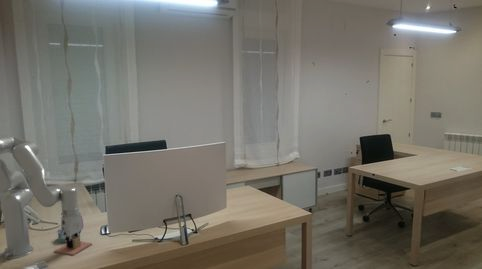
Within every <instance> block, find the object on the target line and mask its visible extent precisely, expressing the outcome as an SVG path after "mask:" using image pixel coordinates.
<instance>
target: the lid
mask: <svg viewBox="0 0 482 269" xmlns="http://www.w3.org/2000/svg"><path fill="white" fill-rule="evenodd" d="M68 238H69V237H68ZM71 240H72V242H73V248H68V247H67V241H66V243H65V244H64V245H62V246H60V247H58V248H56V249H55V250H53V253H54V252H57V253H56V254H60V253H62V254H61V255H66V254H68V255H67V256H71V255H74V256H76V255H78V254H79V253H81V252H83V251H84V249H85V250H86V249H88V248H89V246H90V247H92V246H93V242H86V241H81V236H80V237H77V236H71ZM87 247H88V248H87ZM82 250H83V251H82ZM80 251H81V252H80ZM77 253H78V254H77ZM75 254H76V255H75Z"/></svg>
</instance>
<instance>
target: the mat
mask: <svg viewBox="0 0 482 269" xmlns="http://www.w3.org/2000/svg"><path fill="white" fill-rule="evenodd" d="M89 247H91V246H89ZM89 247H87V248H86V249H88V248H89ZM86 249H84V250H86ZM84 250H82V251H80V252H79V253H81V252H83V251H84ZM53 253H55V254H58V253H57V252H54V251H53ZM79 253H77V254H75V255H70V256H71V257H72V256H73V257H74V256H76V255H78V254H79ZM59 254H61V255H63V254H62V253H59ZM65 255H67V256H69V255H68V254H65Z"/></svg>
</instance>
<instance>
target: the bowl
mask: <svg viewBox="0 0 482 269" xmlns="http://www.w3.org/2000/svg"><path fill="white" fill-rule="evenodd" d="M61 235H62V232H61V230H60V231H59V230H58V231H57V236H58V237H57V238H58V241H59V243H65V244H66V240H65V239H61ZM71 236H74V234H73V235H71ZM68 237H69V236H68ZM79 237H80V238H81V235H80V236H79Z"/></svg>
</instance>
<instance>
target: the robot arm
mask: <svg viewBox="0 0 482 269" xmlns="http://www.w3.org/2000/svg"><path fill="white" fill-rule="evenodd" d="M39 150H40V149H39V146H38V145H37V144H36V143H34V142H32V141H30V140H26V139H23V138H19V137H16V136H11V135H1V136H0V155H3V154H6V153H9V154H10V153H11V155H12V157H13V159H14V160H15V162H16V163H17V164H18V166H19V167H20V169H21V170H22V171H23V173H24V174H25V175H24V174H23V173H22V172H21V171H19V170H17V169H9V167H8V166H7V164H6V162H5V161H4V160H3V159H2V158H1V157H0V193H1V194H3V193H4V194H5V193H8V192H9V193H8V194H6V195H5V196H4V197H3V198H2V199H1V201H0V211H1V213H2V216H3V222H4V228H5V229H4V231H5V239H6V248H4V251H2V252H1V253H0V259H1V258H3V257H4V259H6V260H14V259H19V258H23V257H26V256H28V255H29V256H30V254H32V253H33V252H34V250H35V248H34V246H32V245H31V243H30V234H29V233H30V231H29V222H28V216H27V213H26V211H25V207H27V206H28V205H29V204H30V203H31V202H32V201H33V199H34V198H35V199H36V201H37V202H38V203H39V204H40V205H41V206H42V207H45V208H52V207H53V206H55V205H56V204H58V203H59V202H61V213H60V214H61V219H60V220H61V222H60V223H61V224H60V228H61V232H62V235H61V239H65V240H66V241H67V247H68V248H73V242H72V240H71V235H73V234H74V236H77V237H79V236H80V237H81V235H80V234H81V233H82V231H83V229H84V228H83V226H84V221H83V222H82V218H83V216H82V214H81V212H80V209H79V202H78V201H79V200H78V199H79V198H78V190H77V188H76V187H73V186H68V187H59V186H58V187H57V186H55V187H51V188H49V187H48V185H47V184H46V181H45V173H46V167H45V166H44V164H43V162H42V161H41V160H40V158H38V157H39V156H37V155H38V154H39ZM25 176H26V177H27V180H26V177H25ZM33 197H34V198H33ZM81 216H82V217H81ZM68 236H69V238H68Z"/></svg>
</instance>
